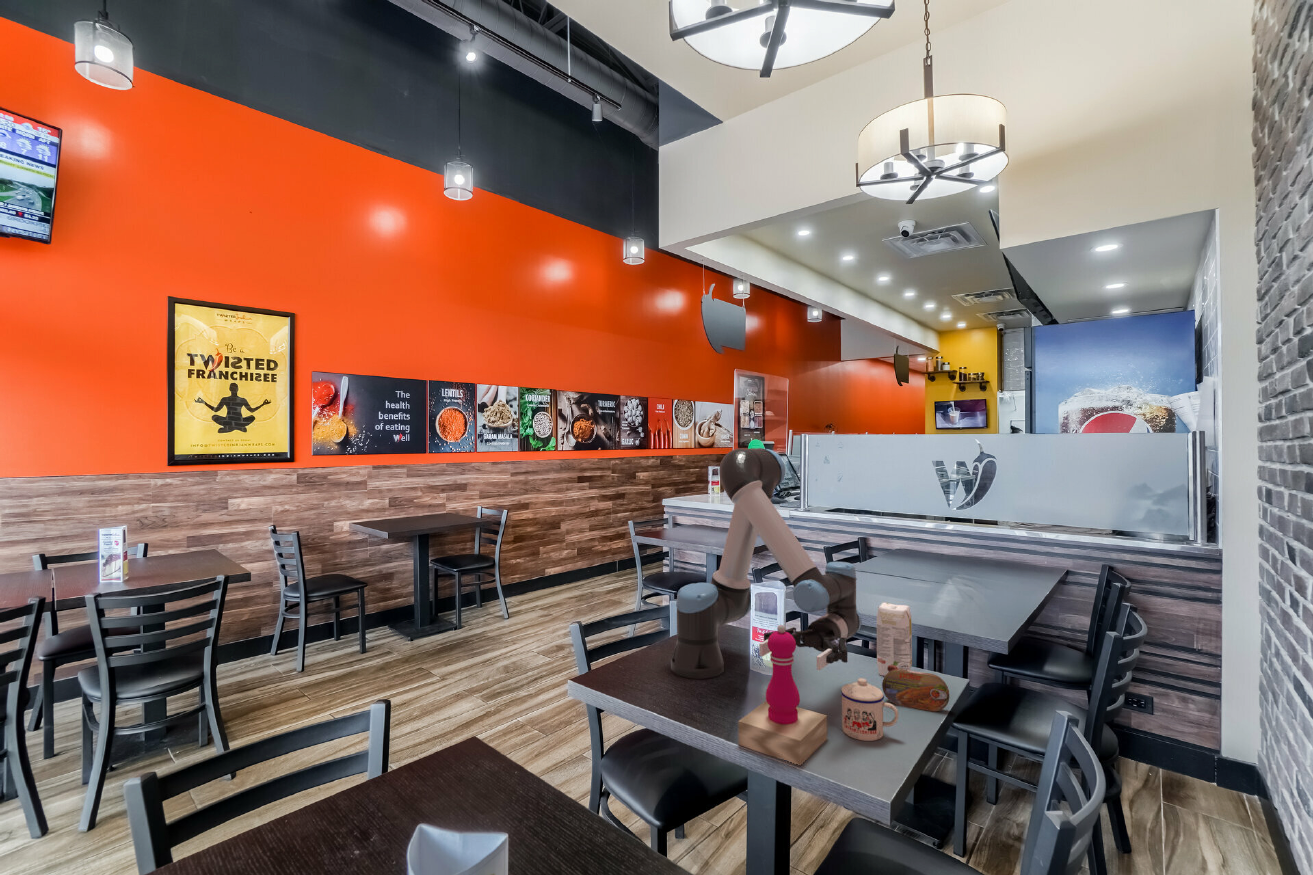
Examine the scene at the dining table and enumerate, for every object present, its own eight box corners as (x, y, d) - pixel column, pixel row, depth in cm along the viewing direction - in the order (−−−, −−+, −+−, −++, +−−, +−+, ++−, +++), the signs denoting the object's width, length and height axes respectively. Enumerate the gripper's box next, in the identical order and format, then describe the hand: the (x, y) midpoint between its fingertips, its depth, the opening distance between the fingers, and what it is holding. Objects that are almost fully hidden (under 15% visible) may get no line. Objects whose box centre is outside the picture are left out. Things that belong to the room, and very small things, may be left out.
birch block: (738, 744, 127) (738, 720, 127) (768, 720, 138) (768, 698, 138) (800, 765, 118) (800, 740, 118) (827, 738, 129) (826, 715, 130)
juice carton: (908, 681, 161) (908, 611, 161) (875, 675, 165) (875, 606, 166) (913, 672, 167) (912, 604, 168) (881, 667, 172) (880, 600, 172)
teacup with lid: (838, 736, 130) (837, 683, 131) (844, 719, 139) (843, 669, 139) (897, 748, 125) (896, 692, 125) (899, 730, 133) (899, 677, 134)
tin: (882, 702, 148) (881, 668, 148) (883, 697, 151) (883, 664, 151) (949, 715, 141) (949, 679, 141) (949, 709, 144) (949, 674, 144)
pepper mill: (800, 711, 131) (799, 620, 131) (799, 727, 124) (798, 631, 124) (767, 708, 133) (765, 618, 133) (764, 723, 126) (762, 628, 126)
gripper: (878, 658, 139) (844, 687, 123) (780, 638, 155) (739, 661, 138) (877, 626, 139) (844, 650, 123) (780, 609, 155) (738, 628, 138)
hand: (788, 656), depth 130 cm, fingers open, 13 cm apart
